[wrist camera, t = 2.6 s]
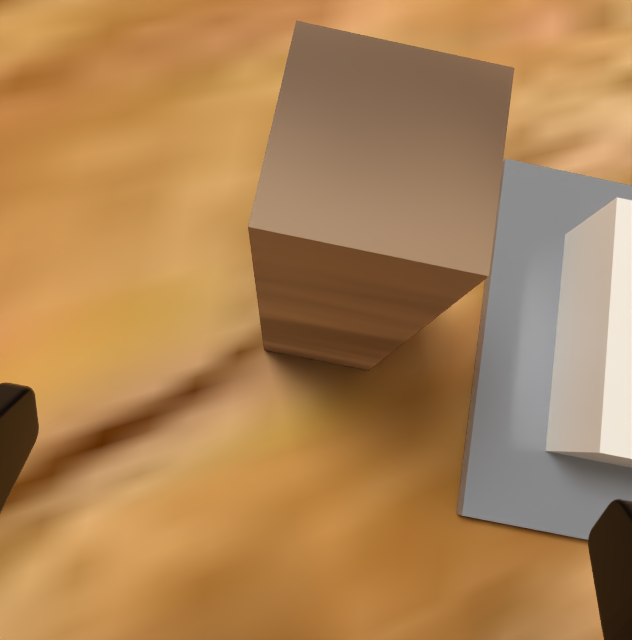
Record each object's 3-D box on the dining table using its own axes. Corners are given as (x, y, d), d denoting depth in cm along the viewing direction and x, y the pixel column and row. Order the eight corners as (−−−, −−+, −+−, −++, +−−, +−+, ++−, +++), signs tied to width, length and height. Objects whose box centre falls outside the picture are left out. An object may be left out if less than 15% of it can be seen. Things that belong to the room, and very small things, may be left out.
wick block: (368, 370, 21) (488, 276, 9) (263, 349, 21) (248, 227, 9) (384, 271, 22) (514, 67, 10) (285, 250, 21) (296, 20, 10)
